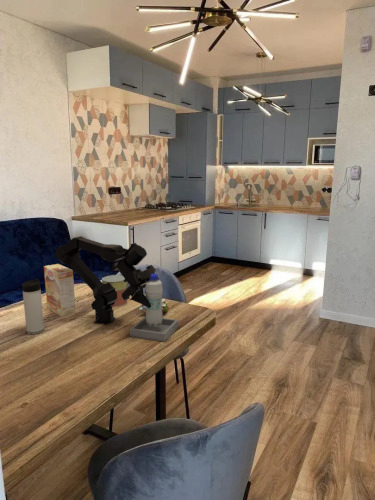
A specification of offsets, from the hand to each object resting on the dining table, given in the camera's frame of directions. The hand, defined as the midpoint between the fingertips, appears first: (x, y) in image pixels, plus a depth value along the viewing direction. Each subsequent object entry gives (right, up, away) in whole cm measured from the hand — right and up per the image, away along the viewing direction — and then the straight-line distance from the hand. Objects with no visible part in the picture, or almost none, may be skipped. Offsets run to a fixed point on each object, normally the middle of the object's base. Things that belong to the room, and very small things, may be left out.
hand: (154, 304), depth 142 cm
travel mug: (-46, -11, +4) cm, 48 cm away
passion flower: (-2, -7, +22) cm, 23 cm away
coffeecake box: (-44, -6, +26) cm, 51 cm away
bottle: (0, -8, +2) cm, 8 cm away
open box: (0, -11, +2) cm, 11 cm away
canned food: (-21, -4, +35) cm, 41 cm away
